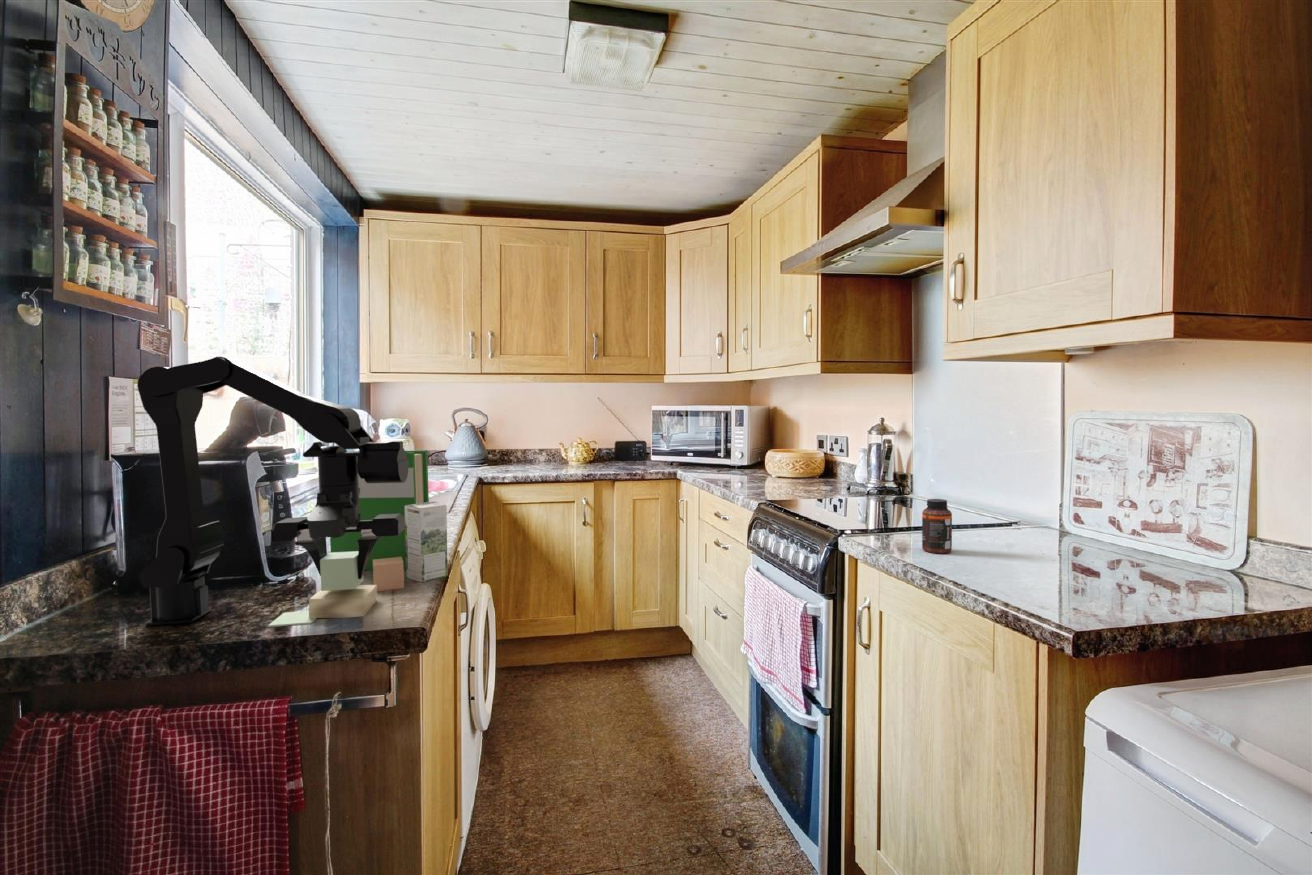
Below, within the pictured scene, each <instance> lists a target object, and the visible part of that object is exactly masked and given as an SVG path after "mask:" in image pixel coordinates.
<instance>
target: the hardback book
mask: <svg viewBox="0 0 1312 875" xmlns="http://www.w3.org/2000/svg"><path fill="white" fill-rule="evenodd" d="M347 452H360V450H359V451H357V450H355V451H354V450H353V451H350V450H349V451H348V450H347ZM405 452H406V456H407V459H408V464H409V465H408V476H407V479H406V481H405V482H402V483H366V482H365V480H364V479H361V478H360V476H359V474H358V483H359V488H360V494H359V509H360V512H361V518H360V520H373V518H375V517H376V516H378V515H379V514H401V515H402V516H403V517H404V519H405V505H411V504H419V503H426V502H430V501H429V500H430V498H429V496H430V495H429V494H430V493H429V469H428V468H429V466H428V450H405ZM361 537H362V534H361V532H345V534H344V535H343V536H341V537H339V538H332V537H329V542H330V543H329V546H330V548H329V549H330V553H333V552H352V551H359V547H358V542H357V540H358V539H359V538H361ZM393 557H402V560H403V569H404V570H406V547H405V529H404V530H403V531H402V532H401V533H400V534H399V535H396V536H383V537H382V538H381V539H380V540H378V541H376V543H375V545H374V547H373V549H372V551H371V554H370V557H369V560H368V562H367V565H366V568H365V570H373V560H374V559H384V558H393Z"/></svg>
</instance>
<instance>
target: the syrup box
mask: <svg viewBox="0 0 1312 875" xmlns="http://www.w3.org/2000/svg"><path fill="white" fill-rule="evenodd" d="M447 510H448V509H447V505H446V504H445V503H442V502H438V501H429V502H426V503H419V504H411V505H405V547H406V571H405V578H407V579H409V580H412V581H416V582H419V583H425V582H428V581H429V582H430V581H434V580H438V579H442V578H447V577H448V574H449V573H448V571H449V570H448V569H449V568H448V566H449V565H448V520H447V519H448V517H447V516H448V515H447V513H448V512H447Z"/></svg>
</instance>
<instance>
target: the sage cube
mask: <svg viewBox="0 0 1312 875" xmlns="http://www.w3.org/2000/svg"><path fill="white" fill-rule="evenodd" d="M358 553H359V551H352V552H333V553H331V552H329V553H327V555H326V556H325V557H323V558H322V559H320V572H321V576H320V590H321V591H330V590H346V589H355V588H357V587H358V586H359V585H362V583H363V582H364V576H363V577H362V578H361V579H358V571H357V569H358Z"/></svg>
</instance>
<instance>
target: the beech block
mask: <svg viewBox="0 0 1312 875" xmlns="http://www.w3.org/2000/svg"><path fill="white" fill-rule="evenodd" d="M377 592H378V591H377V585H374V584H360V585H359V586H358V587H357V588H355V589H346V590H330V591H321V589H320V590H318V591H317V592H316V593H315V594H313V595H312V596H311V597H310V598H309V600H308V611H309V618H317V619H333V618H334V619H339V618H341V619H343V618H353V617H354V618H357V617H365V615H366V614H367V613H368V611H369V610H370V609H371V608H372V606H374V604H375V603H376V602H377V597H378V596H377V595H378V594H377Z"/></svg>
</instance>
